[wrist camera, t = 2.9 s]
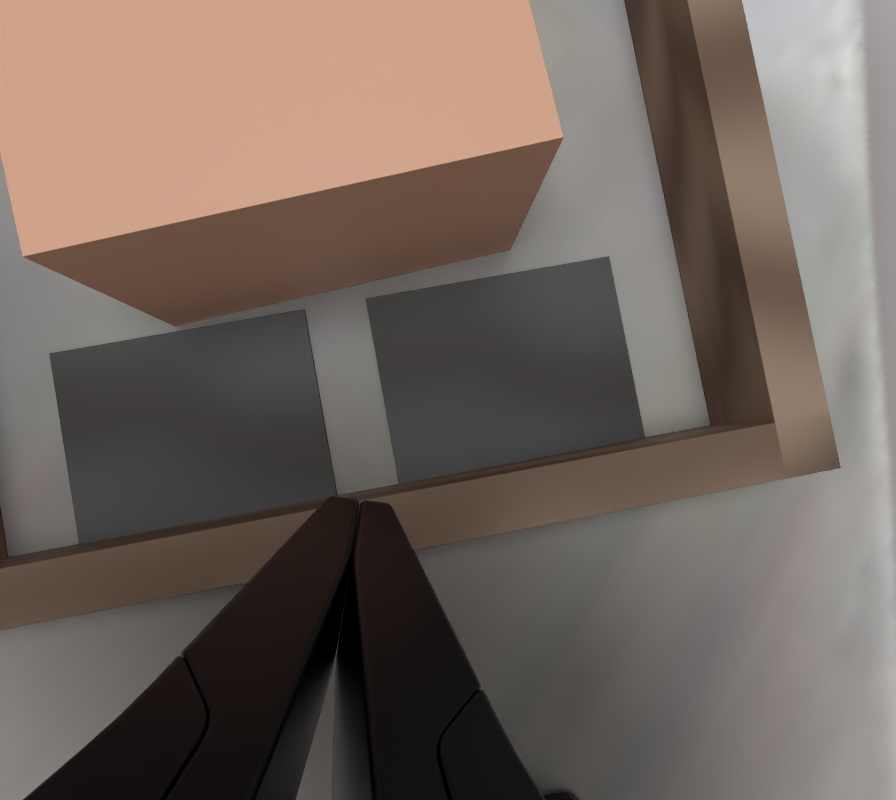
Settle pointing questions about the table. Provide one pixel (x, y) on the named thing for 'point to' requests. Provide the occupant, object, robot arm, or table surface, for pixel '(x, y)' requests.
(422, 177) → the terracotta block
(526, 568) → the table surface
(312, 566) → the robot arm
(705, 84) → the shallow wooden tray box
